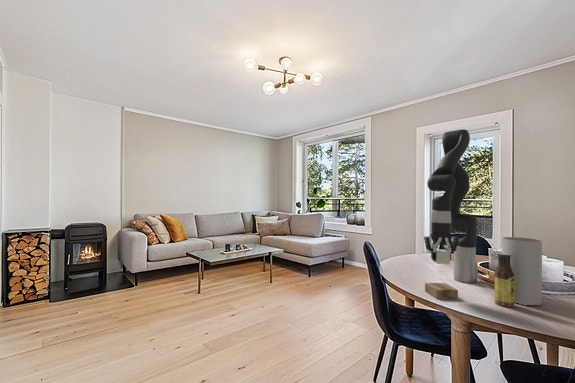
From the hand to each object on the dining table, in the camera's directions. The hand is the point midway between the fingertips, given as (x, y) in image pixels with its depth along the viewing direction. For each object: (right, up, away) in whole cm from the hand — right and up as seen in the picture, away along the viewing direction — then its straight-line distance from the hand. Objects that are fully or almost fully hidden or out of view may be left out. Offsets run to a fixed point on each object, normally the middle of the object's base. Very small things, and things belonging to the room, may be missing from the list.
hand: (440, 260), depth 120 cm
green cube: (0, -1, 0) cm, 1 cm away
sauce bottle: (+19, -15, -10) cm, 27 cm away
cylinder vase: (+30, -15, -6) cm, 34 cm away
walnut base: (0, -15, 0) cm, 15 cm away
